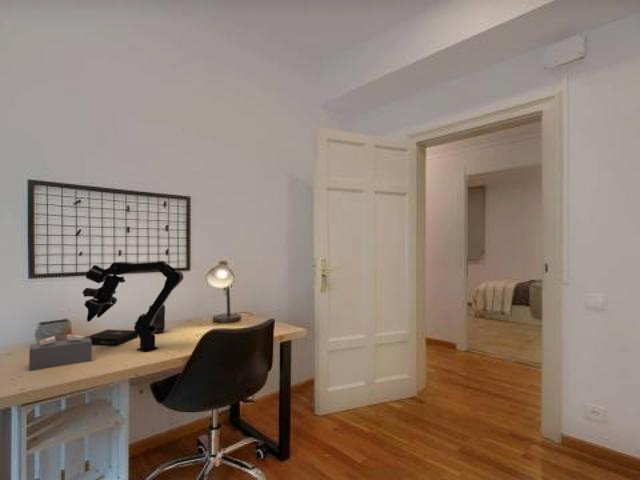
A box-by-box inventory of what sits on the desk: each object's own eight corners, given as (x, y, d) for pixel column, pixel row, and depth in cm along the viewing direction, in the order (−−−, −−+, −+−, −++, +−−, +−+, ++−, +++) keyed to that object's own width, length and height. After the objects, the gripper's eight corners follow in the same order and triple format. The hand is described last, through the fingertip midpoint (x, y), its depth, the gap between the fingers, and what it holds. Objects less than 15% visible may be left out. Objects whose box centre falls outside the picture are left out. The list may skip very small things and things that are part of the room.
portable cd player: (138, 338, 187) (138, 330, 187) (116, 347, 170) (116, 338, 170) (108, 336, 189) (108, 329, 189) (83, 345, 172) (84, 337, 172)
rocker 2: (81, 338, 151) (82, 335, 151) (82, 340, 148) (83, 337, 148) (67, 337, 148) (68, 334, 148) (67, 339, 145) (68, 335, 145)
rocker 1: (55, 338, 146) (54, 335, 146) (55, 340, 143) (55, 337, 142) (40, 343, 143) (39, 340, 143) (40, 345, 140) (39, 342, 139)
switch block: (89, 356, 155) (89, 337, 155) (91, 360, 148) (91, 341, 148) (29, 365, 142) (29, 344, 142) (29, 370, 136) (29, 349, 136)
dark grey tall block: (146, 332, 196) (146, 305, 197) (161, 330, 202) (161, 303, 202) (151, 335, 191) (152, 307, 191) (167, 333, 196) (167, 305, 197)
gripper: (101, 278, 172) (86, 308, 170) (80, 282, 153) (63, 316, 152) (123, 287, 173) (108, 317, 172) (106, 293, 154) (89, 326, 153)
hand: (93, 319), depth 162 cm, fingers open, 9 cm apart
